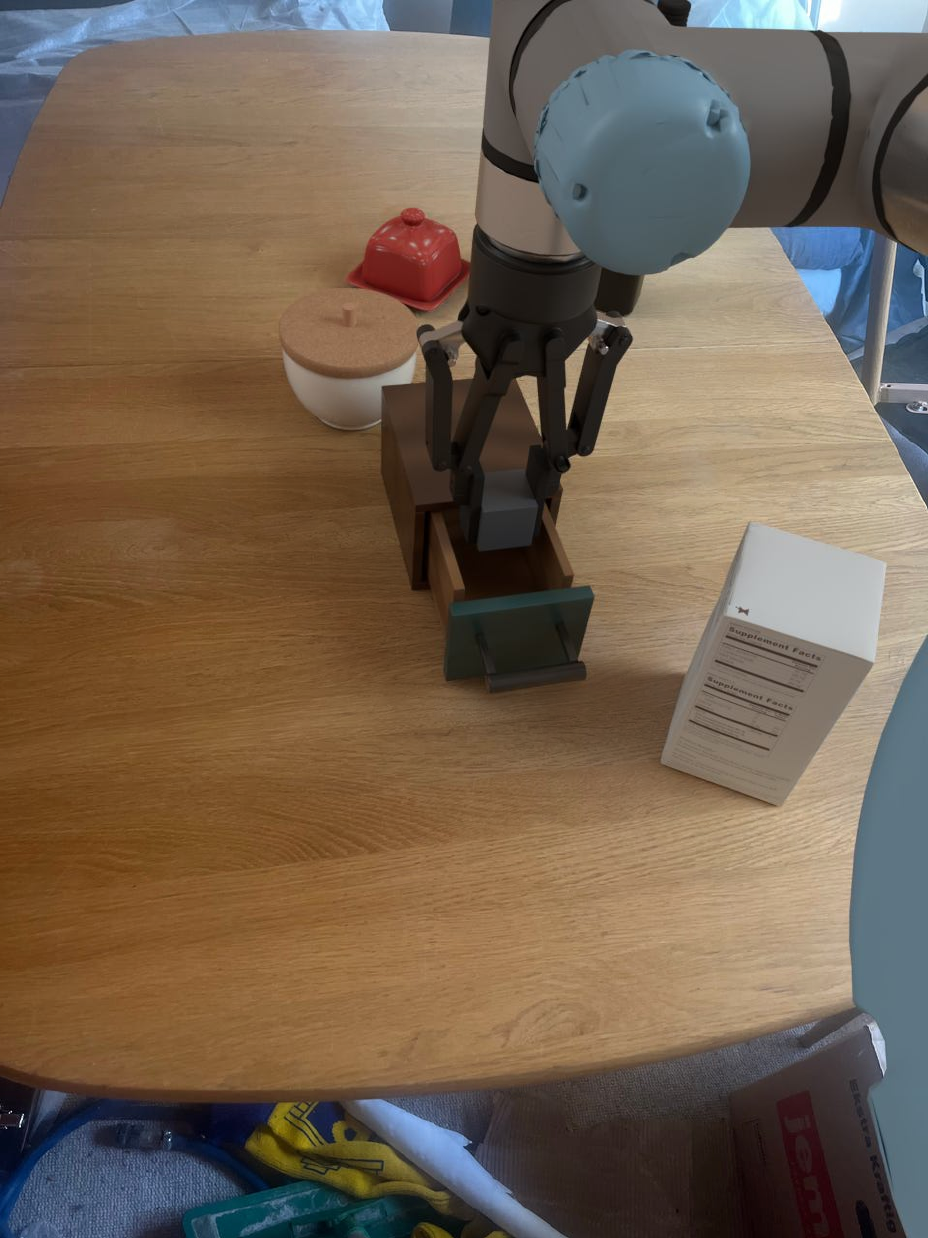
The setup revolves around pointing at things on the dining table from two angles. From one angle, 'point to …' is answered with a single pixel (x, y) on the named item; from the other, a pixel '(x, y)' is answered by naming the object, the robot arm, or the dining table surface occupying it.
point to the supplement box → (776, 662)
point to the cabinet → (427, 489)
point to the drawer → (506, 607)
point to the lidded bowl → (347, 353)
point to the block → (506, 511)
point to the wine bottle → (619, 287)
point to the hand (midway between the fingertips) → (498, 526)
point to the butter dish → (412, 261)
